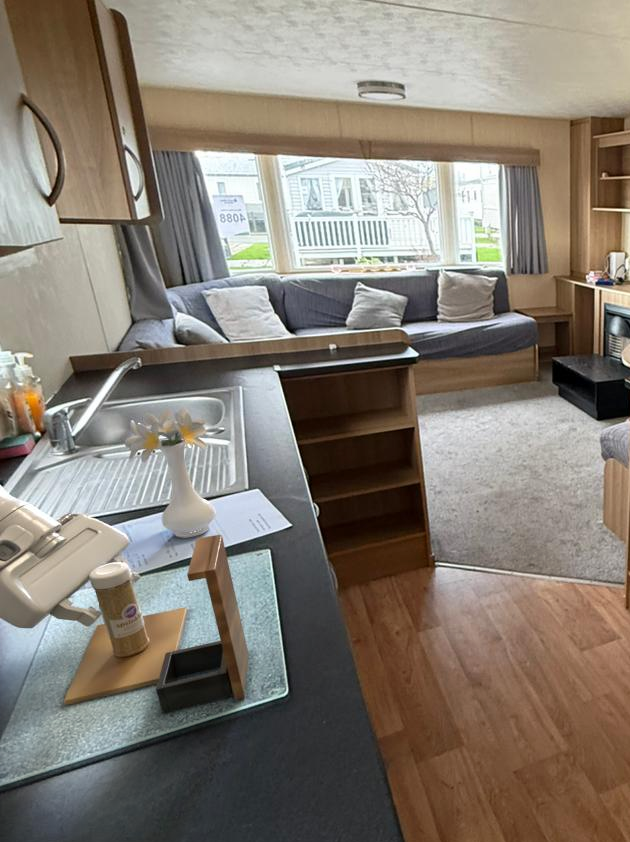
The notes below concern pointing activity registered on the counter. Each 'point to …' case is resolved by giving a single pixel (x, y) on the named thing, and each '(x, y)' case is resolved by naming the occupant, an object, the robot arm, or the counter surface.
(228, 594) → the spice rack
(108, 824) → the counter surface
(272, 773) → the counter surface
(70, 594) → the robot arm
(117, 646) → the sprinkles bottle
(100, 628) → the cork mat
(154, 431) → the flower vase
